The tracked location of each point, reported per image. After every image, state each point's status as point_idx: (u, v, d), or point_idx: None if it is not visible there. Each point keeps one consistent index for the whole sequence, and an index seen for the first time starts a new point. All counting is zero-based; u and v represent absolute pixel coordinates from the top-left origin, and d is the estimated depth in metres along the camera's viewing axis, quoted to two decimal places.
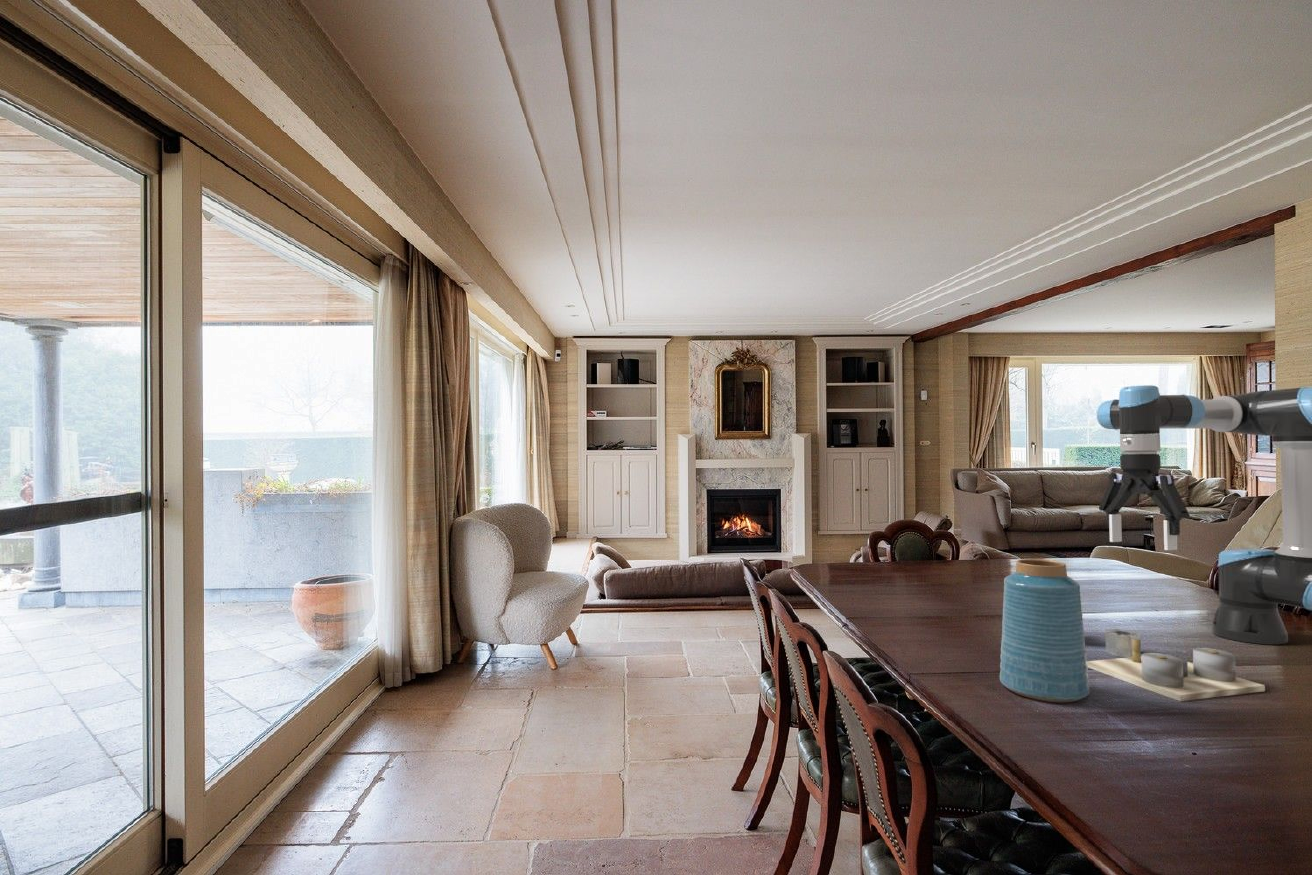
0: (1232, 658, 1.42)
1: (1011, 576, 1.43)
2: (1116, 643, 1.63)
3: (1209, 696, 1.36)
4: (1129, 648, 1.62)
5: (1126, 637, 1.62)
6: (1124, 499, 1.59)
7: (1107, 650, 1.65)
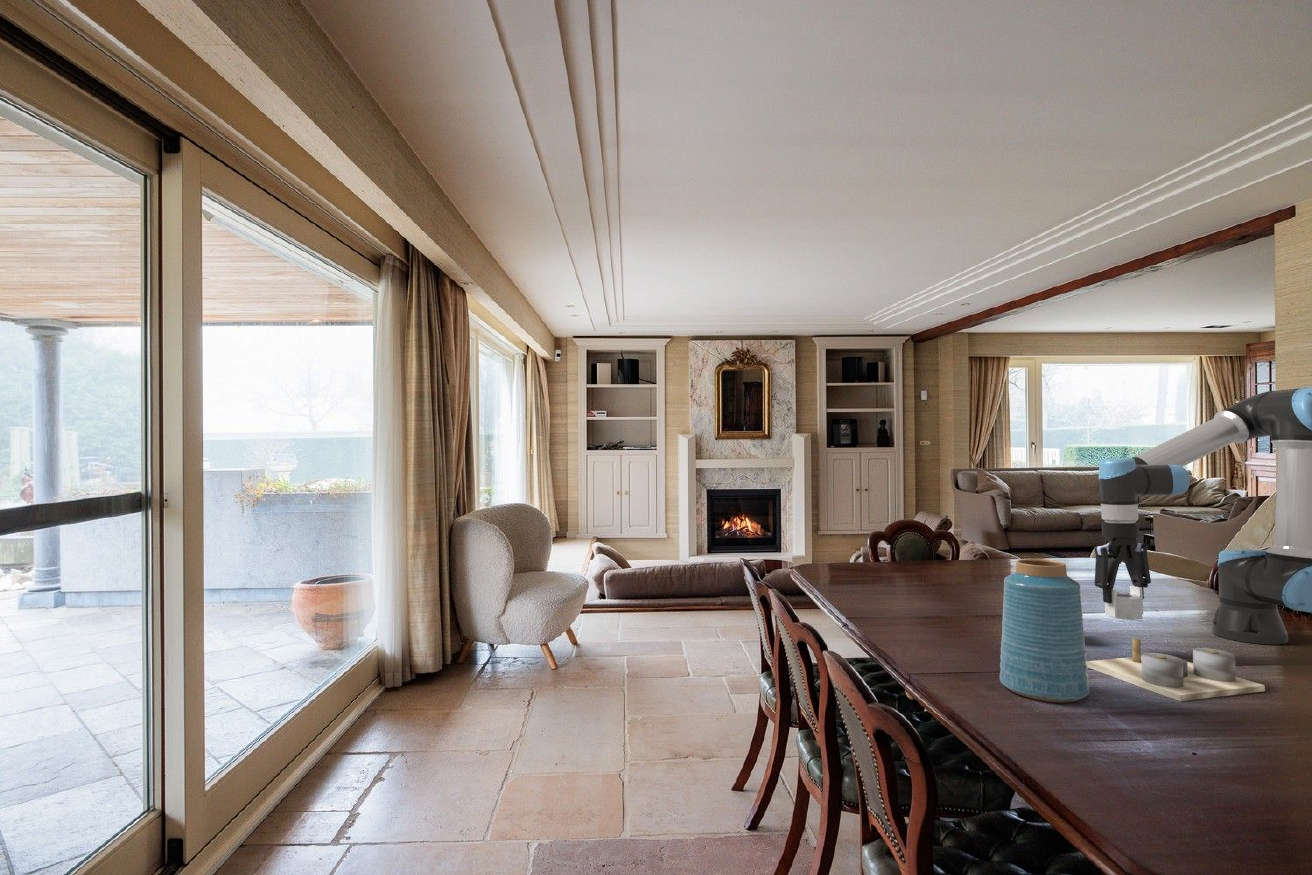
0: (1232, 658, 1.42)
1: (1011, 576, 1.43)
2: (1118, 606, 1.63)
3: (1209, 696, 1.36)
4: (1130, 610, 1.62)
5: (1127, 599, 1.62)
6: (1131, 568, 1.66)
7: None
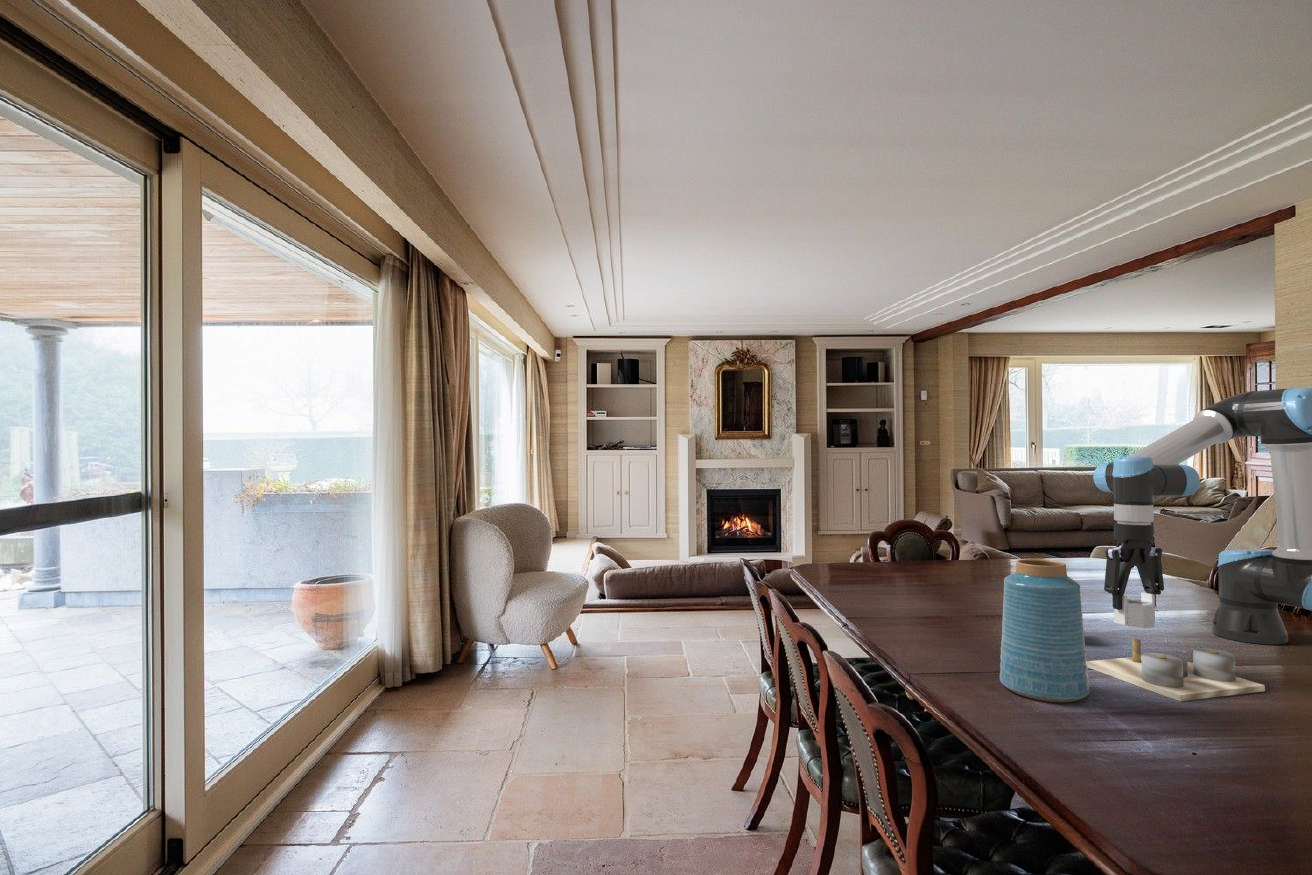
0: (1232, 658, 1.42)
1: (1011, 576, 1.43)
2: (1128, 612, 1.53)
3: (1209, 696, 1.36)
4: (1142, 617, 1.52)
5: (1138, 606, 1.52)
6: (1144, 573, 1.56)
7: None
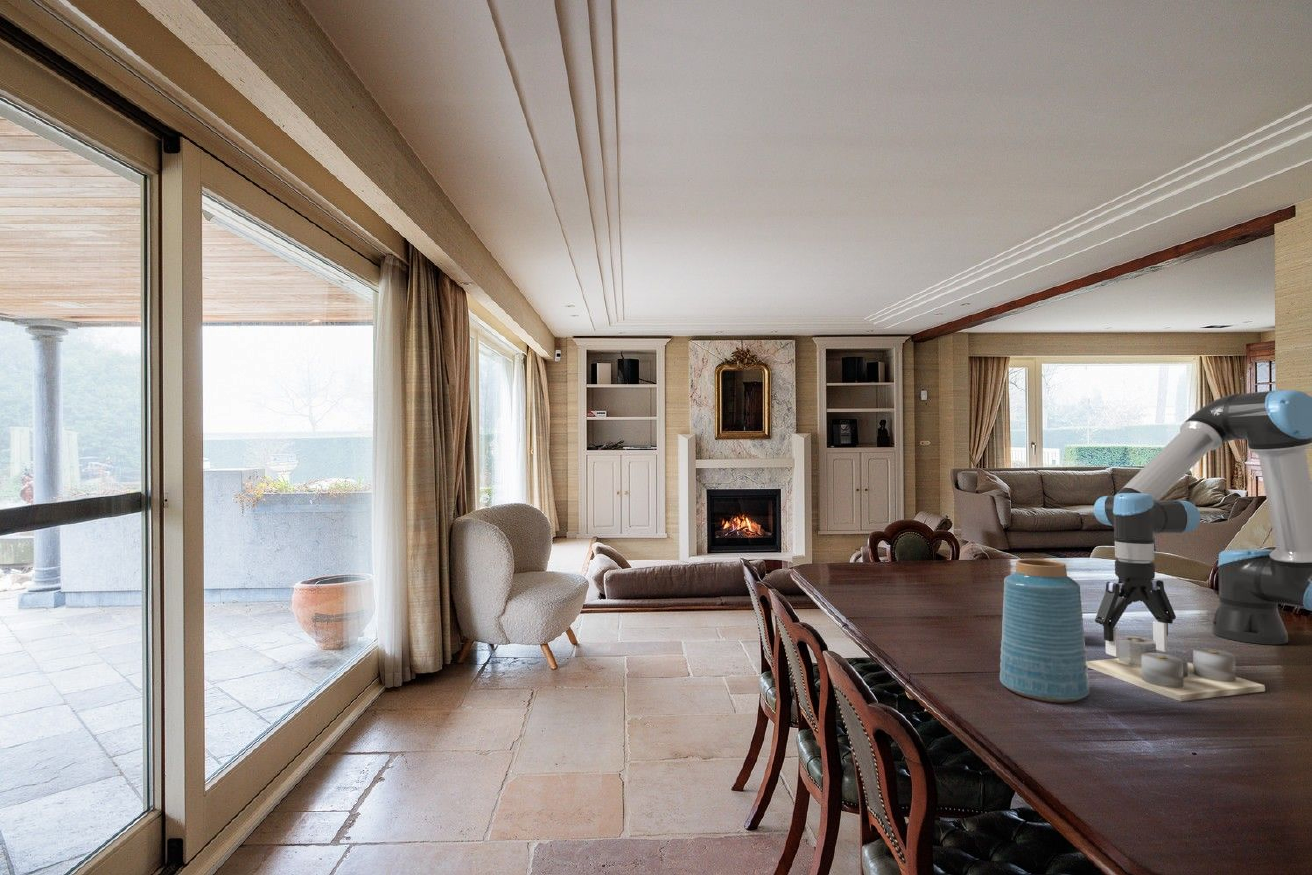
0: (1232, 658, 1.42)
1: (1011, 576, 1.43)
2: (1130, 651, 1.53)
3: (1209, 696, 1.36)
4: None
5: (1140, 644, 1.52)
6: (1151, 606, 1.56)
7: (1120, 658, 1.55)
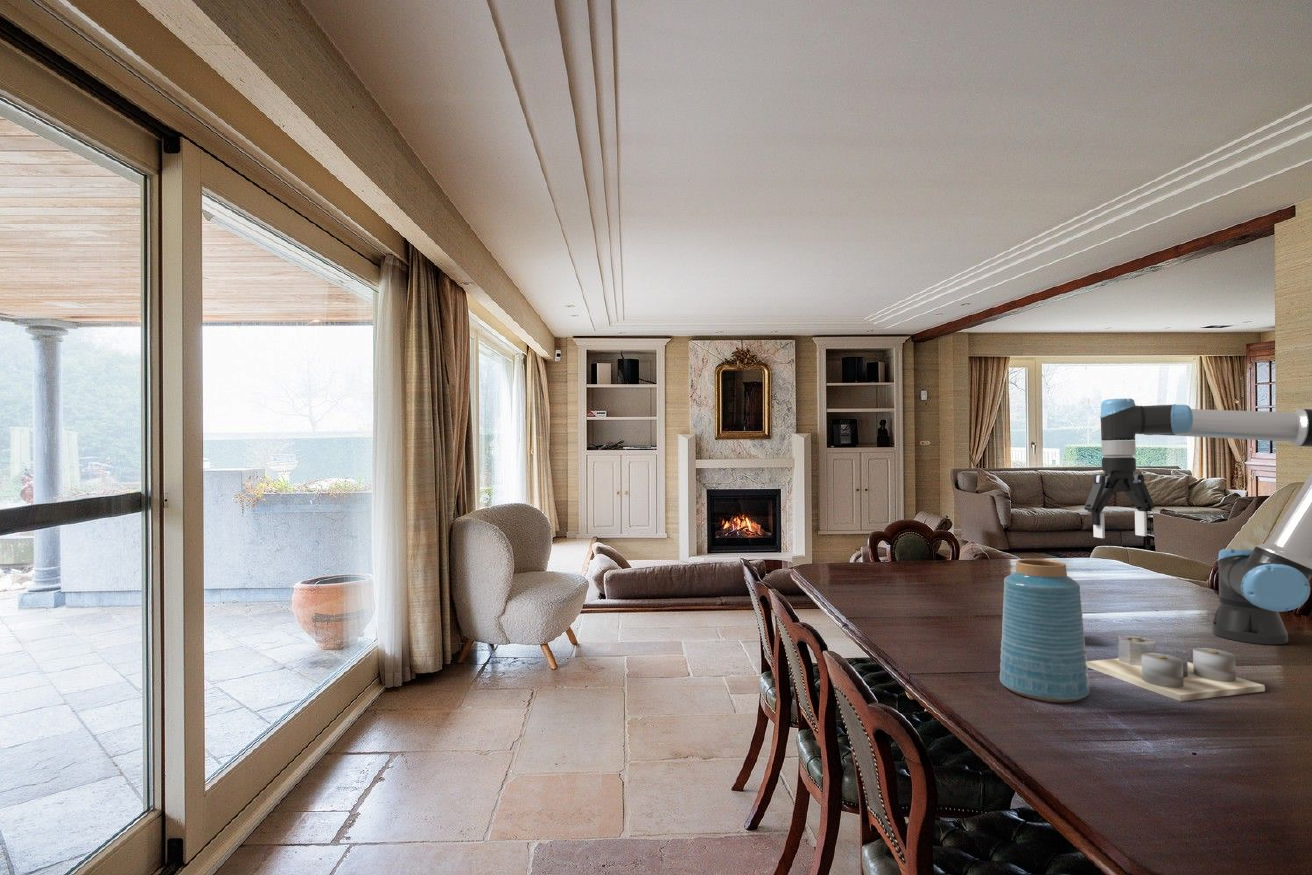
0: (1232, 658, 1.42)
1: (1011, 576, 1.43)
2: (1130, 651, 1.53)
3: (1209, 696, 1.36)
4: None
5: (1140, 644, 1.52)
6: (1133, 497, 1.80)
7: (1120, 658, 1.55)
